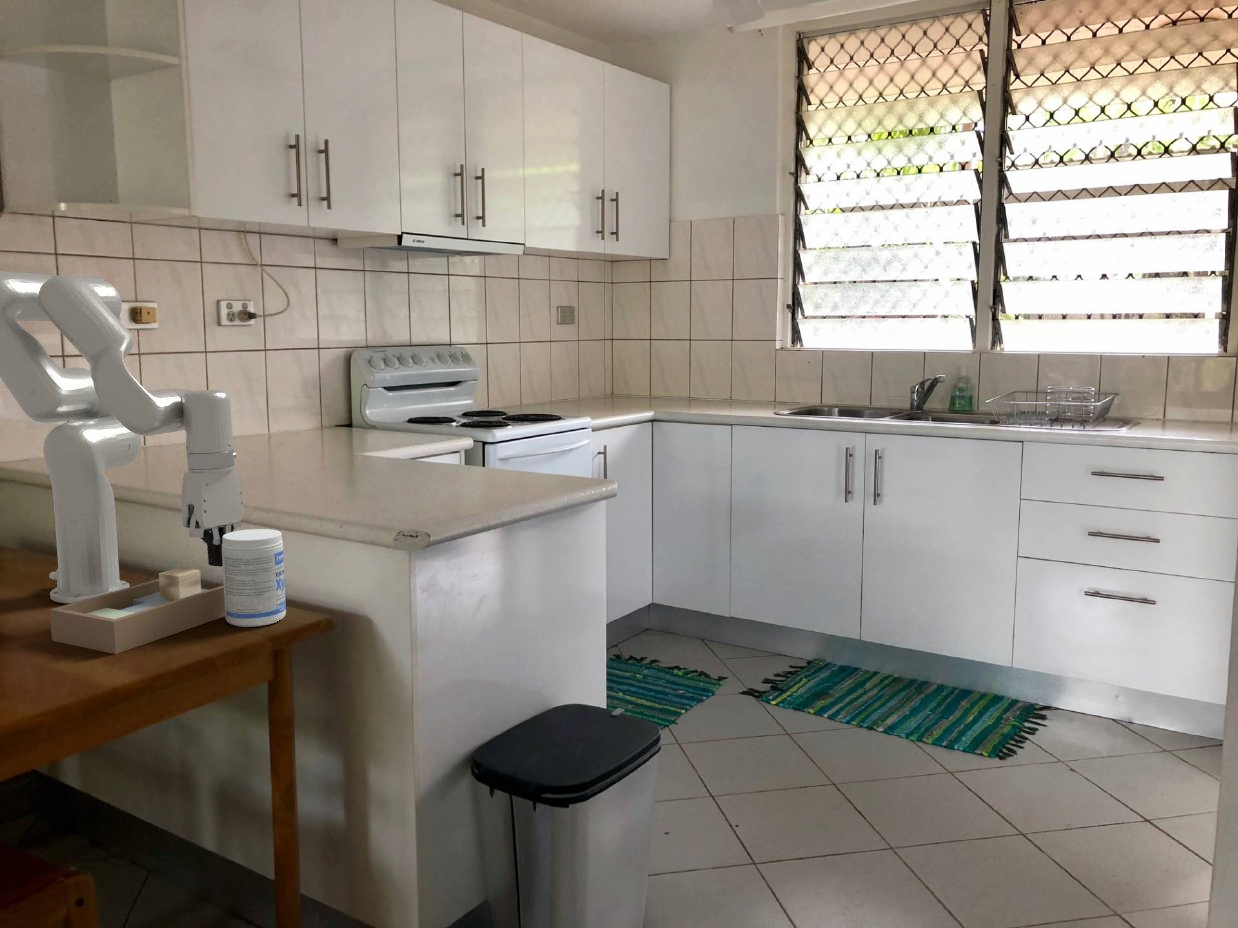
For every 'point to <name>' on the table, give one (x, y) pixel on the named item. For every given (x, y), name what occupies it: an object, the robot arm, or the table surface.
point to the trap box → (132, 617)
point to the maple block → (179, 583)
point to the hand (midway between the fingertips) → (218, 564)
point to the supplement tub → (253, 577)
